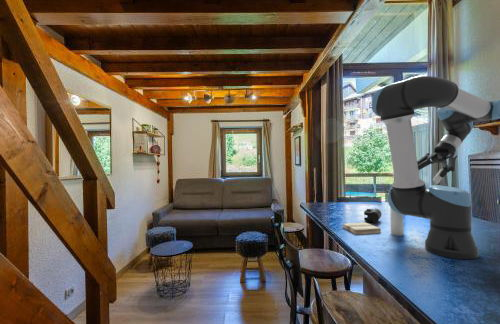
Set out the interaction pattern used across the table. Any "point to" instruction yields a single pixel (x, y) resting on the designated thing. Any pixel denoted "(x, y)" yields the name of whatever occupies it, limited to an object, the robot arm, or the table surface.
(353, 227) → the oak board
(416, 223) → the table surface
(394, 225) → the white bottle
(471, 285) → the table surface
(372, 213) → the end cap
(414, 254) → the table surface
